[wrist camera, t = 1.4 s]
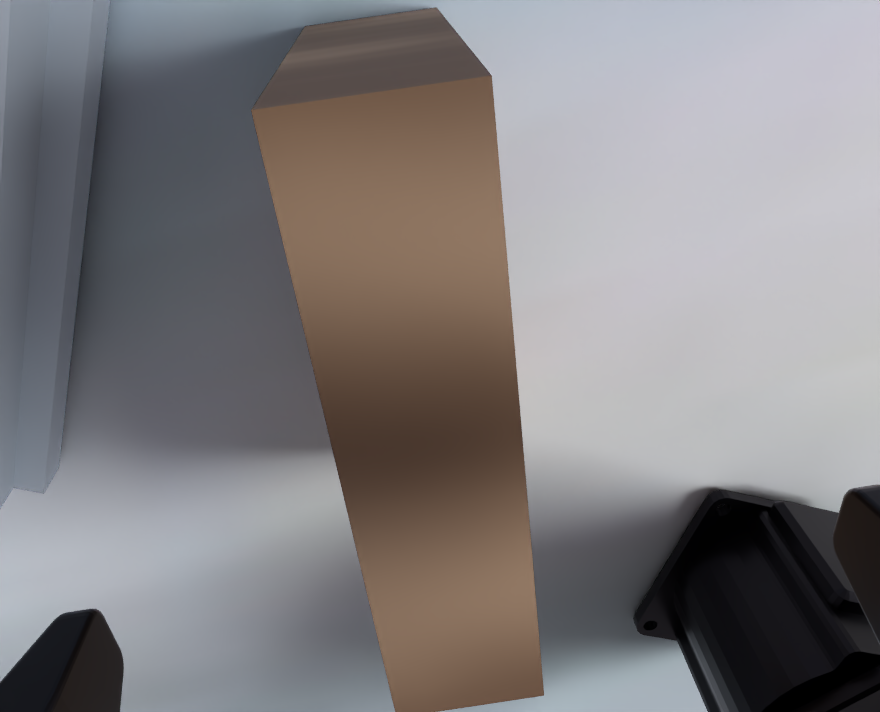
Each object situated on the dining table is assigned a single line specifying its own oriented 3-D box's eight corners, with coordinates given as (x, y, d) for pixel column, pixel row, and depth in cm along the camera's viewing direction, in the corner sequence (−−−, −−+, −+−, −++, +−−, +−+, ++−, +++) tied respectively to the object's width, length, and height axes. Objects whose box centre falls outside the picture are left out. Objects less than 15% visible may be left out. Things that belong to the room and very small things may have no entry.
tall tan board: (485, 436, 23) (543, 695, 15) (386, 450, 23) (394, 718, 15) (436, 7, 17) (491, 75, 9) (302, 26, 17) (247, 111, 9)
